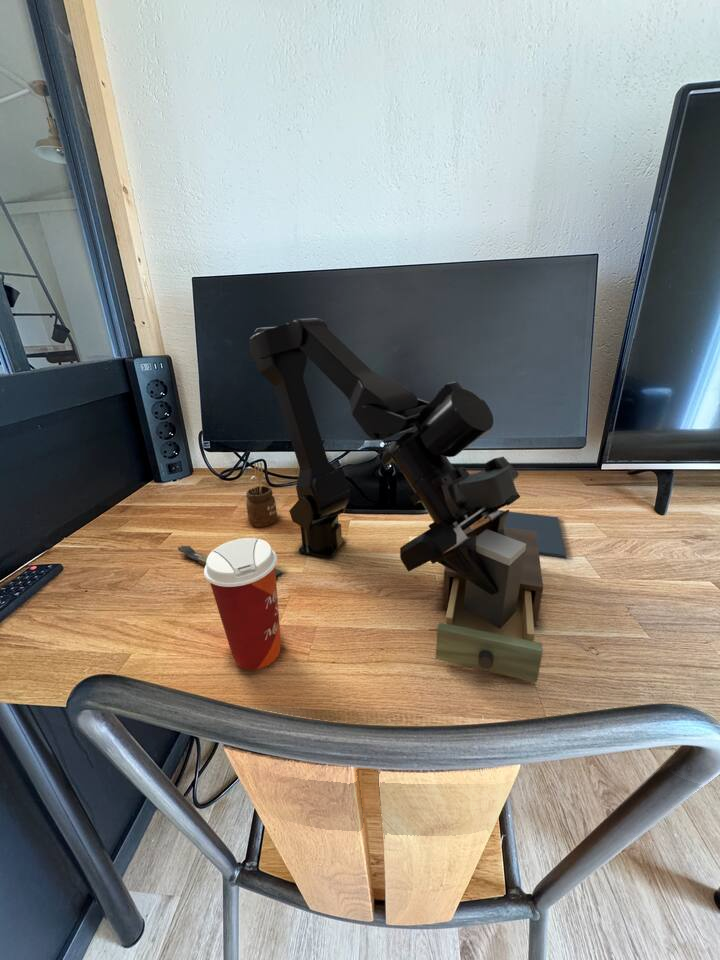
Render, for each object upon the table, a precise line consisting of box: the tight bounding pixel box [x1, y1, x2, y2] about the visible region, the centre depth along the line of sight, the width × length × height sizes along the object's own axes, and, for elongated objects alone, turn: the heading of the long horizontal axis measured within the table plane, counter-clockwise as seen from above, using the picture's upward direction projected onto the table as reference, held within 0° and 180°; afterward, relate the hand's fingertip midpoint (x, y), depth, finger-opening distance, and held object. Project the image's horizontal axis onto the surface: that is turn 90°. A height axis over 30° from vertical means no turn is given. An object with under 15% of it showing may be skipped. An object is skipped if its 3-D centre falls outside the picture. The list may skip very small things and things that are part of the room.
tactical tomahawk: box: [177, 545, 283, 577], centre depth 70 cm, size 21×7×1 cm, turn 57°
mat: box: [453, 509, 567, 559], centre depth 77 cm, size 20×14×1 cm
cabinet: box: [441, 522, 544, 627], centre depth 61 cm, size 15×13×7 cm
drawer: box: [435, 577, 544, 683], centre depth 51 cm, size 15×11×5 cm
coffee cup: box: [203, 537, 282, 671], centre depth 49 cm, size 8×8×15 cm
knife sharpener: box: [464, 529, 526, 629], centre depth 48 cm, size 5×4×10 cm
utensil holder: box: [245, 461, 278, 528], centre depth 82 cm, size 6×6×12 cm
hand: (503, 584), depth 47 cm, fingers closed on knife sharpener, 4 cm apart
